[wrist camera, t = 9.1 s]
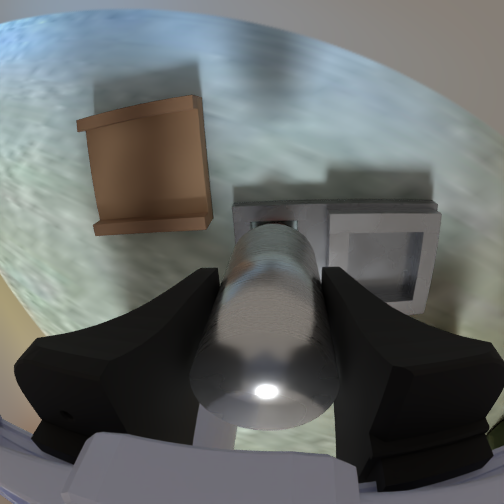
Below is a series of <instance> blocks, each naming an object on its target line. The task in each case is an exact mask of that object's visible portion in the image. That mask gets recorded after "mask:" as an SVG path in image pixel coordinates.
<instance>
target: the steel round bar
mask: <svg viewBox="0 0 504 504" xmlns="http://www.w3.org/2000/svg"><path fill="white" fill-rule="evenodd" d="M190 385H191V388H192V391H193V393H194V395H195V397H196V398H197V400H198V401H199V403H200V404H201V405H202V406H203V407H204V408H205V409H206V410H208V411H209V412H210V413H211V414H213V415H214V416H216V417H218V418H219V419H221V420H223V421H225V422H228V423H230V424H233V425H236V426H239V427H243V428H248V429H253V430H283V429H289V428H293V427H297V426H300V425H303V424H305V423H308V422H310V421H312V420H314V419H316V418H317V417H319V416H320V415H321V414H323V413H324V412H325V411H326V410H327V409H328V408H329V407H330V406H331V405H332V404H333V402H334V400H335V399H336V396H337V394H338V391H339V374H338V368H337V362H336V357H335V351H334V346H333V340H332V335H331V329H330V324H329V319H328V314H327V309H326V304H325V299H324V294H323V290H322V285H321V280H320V275H319V271H318V266H317V262H316V257H315V253H314V250H313V248H312V246H311V244H310V242H309V241H308V240H307V238H306V237H305V236H304V235H302V234H301V233H300V232H299V231H297V230H295V229H293V228H291V227H289V226H286V225H281V224H265V225H261V226H257V227H255V228H253V229H251V230H249V231H248V232H246V233H245V234H244V235H243V236H242V237H241V238H240V239H239V241H238V242H237V243H236V245H235V247H234V250H233V253H232V255H231V258H230V261H229V263H228V266H227V269H226V272H225V274H224V277H223V280H222V283H221V286H220V288H219V291H218V294H217V297H216V299H215V302H214V305H213V308H212V311H211V313H210V316H209V319H208V322H207V325H206V327H205V330H204V333H203V336H202V339H201V342H200V344H199V347H198V350H197V353H196V356H195V359H194V362H193V365H192V368H191V371H190Z"/></svg>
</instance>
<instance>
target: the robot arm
mask: <svg viewBox="0 0 504 504" xmlns="http://www.w3.org/2000/svg"><path fill="white" fill-rule="evenodd" d="M321 285H322V290H323V294H324V299H325V304H326V309H327V314H328V319H329V324H330V329H331V335H332V340H333V346H334V351H335V357H336V362H337V368H338V374H339V391H338V394H337V396H336V399H335V400H334V415H335V432H336V458H335V457H332V456H330V455H328V454H315V453H303V452H293V451H247V450H234V445H235V439H236V432H237V426H236V425H233V424H230V423H228V422H225V421H223V420H221V419H219V418H218V417H216V416H214V415H213V414H211V413H210V412H209V411H208V410H206V409H205V408H204V407H203V406H202V405H201V404H200V403H199V401H198V400H197V398H196V397H195V395H194V393H193V391H192V388H191V385H190V371H191V368H192V365H193V362H194V359H195V356H196V353H197V350H198V347H199V344H200V342H201V339H202V336H203V333H204V330H205V327H206V325H207V322H208V319H209V316H210V313H211V311H212V308H213V305H214V302H215V299H216V297H217V294H218V291H219V288H220V283H219V274H218V268H200V269H198V270H197V271H195V272H194V273H192V274H191V275H189V276H188V277H186V278H185V279H183V280H182V281H181V282H179V283H178V284H176V285H175V286H173V287H172V288H170V289H169V290H167V291H166V292H164V293H163V294H161V295H159V296H158V297H156V298H155V299H153V300H151V301H150V302H148V303H146V304H144V305H143V306H141V307H139V308H137V309H135V310H133V311H131V312H129V313H126V314H124V315H122V316H119V317H117V318H114V319H112V320H109V321H106V322H104V323H101V324H98V325H95V326H92V327H89V328H85V329H81V330H78V331H74V332H69V333H65V334H59V335H53V336H47V337H41V338H37V339H36V340H35V341H34V342H33V343H32V344H31V345H30V347H29V348H28V349H27V350H26V351H25V352H24V353H23V354H22V356H21V357H20V358H19V359H18V360H17V362H16V363H15V365H14V374H15V377H16V380H17V383H18V385H19V387H20V389H21V390H22V392H23V393H24V395H25V397H26V398H27V400H28V401H29V403H30V404H31V405H32V407H33V408H34V410H35V411H36V412H37V414H38V415H39V417H40V418H41V419H42V421H41V423H40V424H39V426H38V427H37V429H36V431H35V432H34V434H32V433H29V432H28V431H25V430H23V429H21V428H19V427H17V426H15V425H13V424H11V423H9V422H7V421H6V420H4V419H2V417H1V415H0V495H2V496H3V497H5V498H6V499H7V500H9V501H10V502H12V503H13V504H504V446H501V447H499V448H496V449H494V450H492V449H491V447H490V445H489V442H488V440H487V437H486V435H485V433H487V432H488V430H489V424H488V422H487V420H486V418H485V417H486V416H487V414H488V413H489V411H490V410H491V408H492V407H493V405H494V404H495V402H496V400H497V399H498V397H499V396H500V394H501V392H502V390H503V388H504V361H503V359H502V358H501V356H500V355H499V353H498V352H497V350H496V349H495V348H494V346H493V345H492V343H491V342H486V341H481V340H476V339H472V338H467V337H463V336H459V335H456V334H452V333H449V332H446V331H443V330H440V329H437V328H435V327H432V326H429V325H427V324H425V323H423V322H420V321H418V320H416V319H414V318H412V317H410V316H408V315H406V314H404V313H402V312H400V311H399V310H397V309H395V308H393V307H392V306H390V305H388V304H387V303H385V302H384V301H382V300H381V299H380V298H378V297H377V296H375V295H374V294H373V293H371V292H370V291H369V290H367V289H366V288H365V287H363V286H362V285H361V284H360V283H359V282H357V281H356V280H355V279H354V278H353V277H351V276H350V275H349V274H348V273H347V272H346V271H344V270H343V269H342V268H341V267H322V278H321Z"/></svg>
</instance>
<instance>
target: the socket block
mask: <svg viewBox="0 0 504 504" xmlns="http://www.w3.org/2000/svg"><path fill="white" fill-rule="evenodd" d="M437 208H438V204H437V203H435V202H434V201H432V200H392V199H344V200H293V201H264V202H242V203H234V205H233V206H232V211H233V222H234V233H235V243H237V242H238V241H239V239H240V238H241V237H242V236H243V235H244V234H245V233H246V232H248V231H249V230H251V229H252V224H251V222H256V221H285V220H297V224H298V231H299V232H300V233H301V234H302V235H304V236H305V237H306V238H307V240H308V241H309V242H310V244H311V246H312V248H313V250H314V253H315V257H316V262H317V266H318V271H319V275H320V280H321V278H322V267H341V268H342V269H343V270H344V271H346V272H347V273H348V274H349V275H350V276H351V277H353V278H354V279H355V280H356V281H357V282H359V283H360V284H361V285H362V286H363V287H365V288H366V289H367V290H369V291H370V292H371V293H373V294H374V295H375V296H377V297H378V298H380V299H381V300H382V301H384V302H385V303H387V304H388V305H390V306H392V307H393V308H395V309H397V310H399V311H400V312H402V313H404V314H406V315H412V314H423V313H424V311H425V307H426V302H427V298H428V293H429V289H430V284H431V279H432V274H433V269H434V263H435V258H436V252H437V245H438V239H439V232H440V224H441V216H442V214H441V213H440V212H438V211H437Z"/></svg>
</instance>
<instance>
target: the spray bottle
mask: <svg viewBox="0 0 504 504" xmlns="http://www.w3.org/2000/svg"><path fill="white" fill-rule="evenodd" d="M487 440H488V442H489V445H490V447H491V449H492V450H494V449H496V448H499V447H501V446H504V420H503V421H502V422H501V423H500V424H499V425H497V426H496V427H495V428H494V429H493V430H492V431H491V432H490V433H489V434H488V435H487Z"/></svg>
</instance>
